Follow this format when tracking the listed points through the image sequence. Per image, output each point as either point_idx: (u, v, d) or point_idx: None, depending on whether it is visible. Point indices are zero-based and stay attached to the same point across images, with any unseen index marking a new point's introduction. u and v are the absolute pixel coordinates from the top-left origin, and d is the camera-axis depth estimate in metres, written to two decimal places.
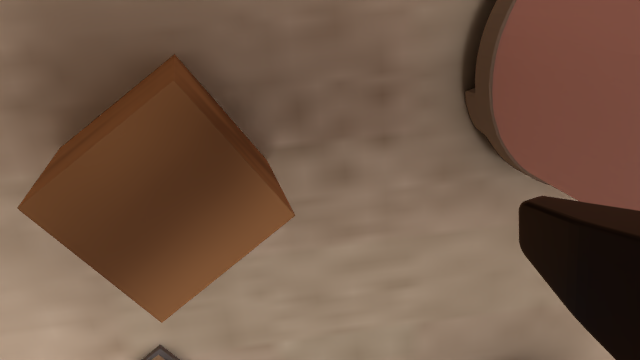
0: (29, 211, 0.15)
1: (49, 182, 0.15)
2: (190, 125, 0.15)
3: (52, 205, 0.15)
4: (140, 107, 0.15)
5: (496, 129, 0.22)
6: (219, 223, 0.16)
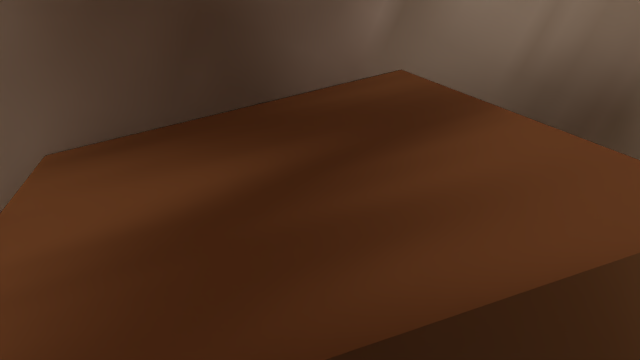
0: None
1: None
2: None
3: None
4: None
5: None
6: None
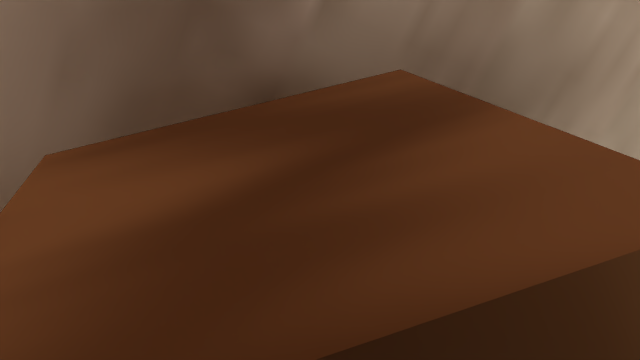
0: None
1: None
2: None
3: None
4: None
5: None
6: None
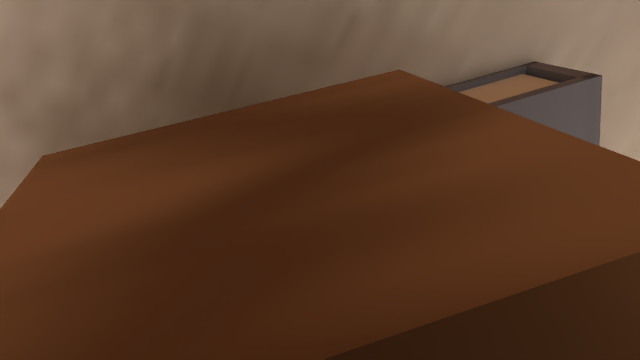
0: None
1: None
2: None
3: None
4: None
5: None
6: None
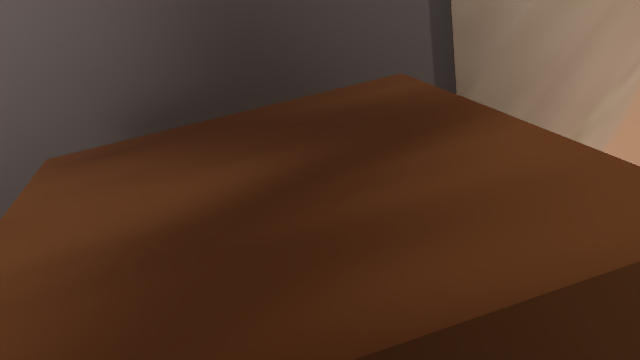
0: None
1: None
2: None
3: None
4: None
5: None
6: None
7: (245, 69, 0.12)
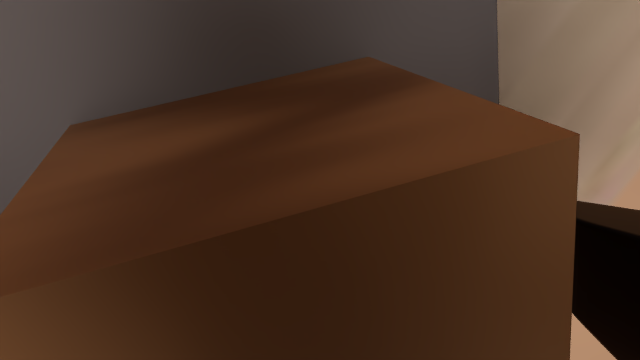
0: None
1: None
2: (119, 322, 0.04)
3: None
4: None
5: None
6: (451, 343, 0.05)
7: (259, 80, 0.10)
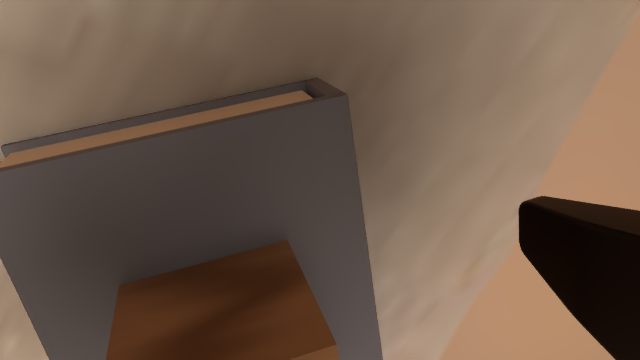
0: None
1: None
2: None
3: None
4: None
5: None
6: None
7: None
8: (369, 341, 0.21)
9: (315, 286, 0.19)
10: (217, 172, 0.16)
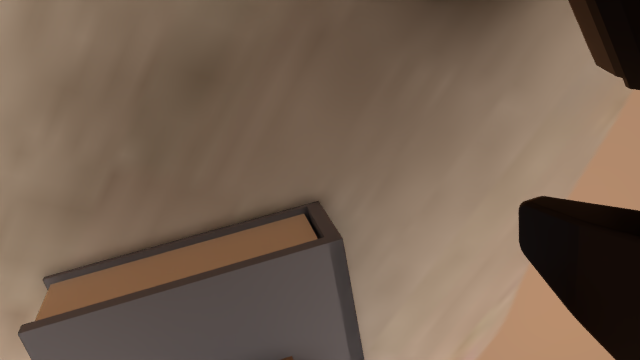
0: None
1: None
2: None
3: None
4: None
5: None
6: None
7: None
8: None
9: None
10: (230, 309, 0.19)
